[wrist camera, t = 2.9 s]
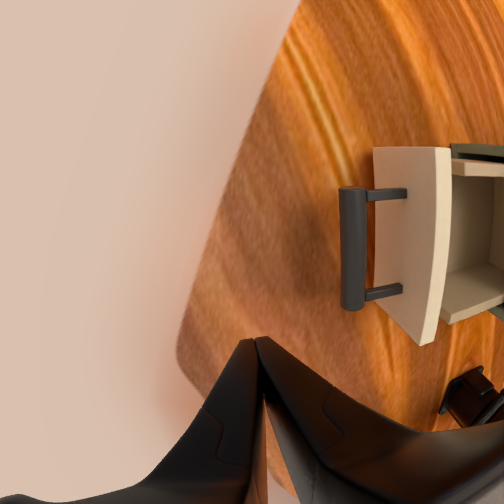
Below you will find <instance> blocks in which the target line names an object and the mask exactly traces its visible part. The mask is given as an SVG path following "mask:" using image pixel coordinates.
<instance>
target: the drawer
mask: <svg viewBox="0 0 504 504" xmlns="http://www.w3.org/2000/svg"><path fill="white" fill-rule="evenodd" d="M372 150H373V164H374V183H375V189H369V190H366V188H365V187H361V186H346V187H340V188H339V189H338V191H339V210H340V241H341V301H340V305H341V307H342V308H343V309H345V310H348V311H358V310H361V309H362V308H363V307H364V306H365V301H366V302H368V301H372V300H374V301H375V302H376V303H377V304H378V305H379V306H380V307H381V308H382V309H383V310H384V311H385V312H386V313H387V314H388V315H389V316H390V317H391V318H392V319H393V320H394V321H395V322H396V323H397V324H398V325H399V326H400V327H401V328H402V329H403V330H404V331H405V332H406V333H407V334H408V335H409V336H410V337H411V338H412V339H413V340H414V341H415V342H416V343H417V344H418V345H419V346H422V345H425V344H427V343H430V342H433V341H434V337H435V333H436V328H437V324H438V319H439V317H440V318H441V319H442V320H444V321H445V322H446V323H447V324H448V325H450V324H453V323H456V322H458V321H461V320H463V319H466V318H468V317H471V316H473V315H476V314H478V313H481V312H483V311H485V310H488V309H490V308H492V307H495V306H497V305H499V304H501V303H504V163H502V162H495V161H484V160H470V159H452V158H451V149H450V148H444V147H373V148H372ZM366 201H367V202H371V201H375V271H374V288H369V289H366V265H367V205H366Z"/></svg>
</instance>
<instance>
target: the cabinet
mask: <svg viewBox="0 0 504 504" xmlns="http://www.w3.org/2000/svg"><path fill="white" fill-rule="evenodd" d="M451 154H452V159H470V160H484V161H495V162H502V163H504V146H501V145H487V144H467V143H451ZM488 311H489V312H491V313H492V314H494V315H495V316H497V317H498V318H499V319H501V320H502V321H503V322H504V303H501V304H499V305H497V306H495V307H492V308H490V309H488Z"/></svg>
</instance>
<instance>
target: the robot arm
mask: <svg viewBox="0 0 504 504" xmlns="http://www.w3.org/2000/svg"><path fill="white" fill-rule="evenodd" d="M483 370H484V367H483V366H480V367H478V368H476V369H474V370H472V371H470V372H468V373H466V374H464V375H463V376H461V377H458V378H456V379H454V380H453V381H451V383H450V385H449V387H448V390H447V393H446V395H445V398H444V400H443V403H442V405H441V407H440V410H439V412H438V414H439V415H442V414H444V413H446V412H449V413H450V414H451V416H452V417H453V418H454V419H455V421H456V422H457V423H458V424H459V426H460V427H461V428H460V429H453V430H445V431H436V432H423V431H418V430H414V429H411V428H409V427H406V426H404V425H402V424H400V423H398V422H396V421H394V420H392V419H390V418H388V417H386V416H384V415H382V414H380V413H378V412H376V411H374V410H372V409H370V408H368V407H366V406H364V405H363V404H361V403H359V402H357V401H355V400H354V399H352V398H351V397H349V396H348V395H346V394H345V393H343V392H342V391H340V390H339V389H338V388H336V387H335V386H334V387H333V385H332V384H331V383H329V382H328V381H326V380H325V379H324V378H322V377H321V376H320V375H318V374H317V373H316V372H314V371H313V370H312V369H310V368H309V367H308V366H306V365H305V364H304V363H302V362H301V361H300V360H298V359H297V358H296V357H294V356H293V355H292V354H290V353H289V352H288V351H286V350H285V349H284V348H283V347H281V346H280V345H279V344H277V343H276V342H275V341H274V340H272V339H271V338H270V337H268V336H263V337H257V338H255V339H253V338H250V339H243V340H240V341H239V343H238V345H237V347H236V348H235V350H234V352H233V354H232V356H231V357H230V359H229V361H228V363H227V364H226V366H225V368H224V369H223V371H222V373H221V375H220V376H219V378H218V380H217V382H216V383H215V385H214V387H213V388H212V390H211V392H210V394H209V395H208V397H207V399H206V400H205V402H204V404H203V406H202V408H201V409H200V410H199V412H198V414H197V415H196V417H195V419H194V420H193V422H192V423H191V425H190V426H189V428H188V429H187V431H186V432H185V433H184V434H183V436H182V437H181V438H180V439H179V441H178V442H177V443H176V444H175V445H174V447H173V448H172V449H171V450H170V451H169V452H168V454H167V455H166V456H165V457H164V458H163V459H162V461H161V462H160V463H159V464H158V465H157V466H156V468H155V469H154V470H153V471H152V472H151V473H150V474H149V475H148V476H147V477H146V478H145V479H143V480H142V481H141V482H139V483H137V484H135V485H133V486H131V487H128V488H124V489H121V490H117V491H114V492H110V493H106V494H103V495H99V496H94V497H90V498H86V499H81V500H76V501H71V502H62V503H53V502H45V501H40V500H37V499H35V498H32V497H29V496H26V495H23V494H15V495H10V496H6V497H3V498H0V504H268V494H267V458H266V426H265V406H266V410H267V413H268V416H269V419H270V421H271V424H272V427H273V430H274V433H275V436H276V438H277V441H278V444H279V447H280V450H281V452H282V455H283V458H284V461H285V463H286V466H287V469H288V472H289V474H290V477H291V480H292V482H293V485H294V488H295V490H296V493H297V495H298V498H299V501H300V503H301V504H504V389H502V390H501V391H500V393H498V392H497V391H496V390H495V389H494V385H493V384H492V383H491V382H490V381H489V380H488V379H487V378H486V377H485V376H484V375H483V374H482V372H483ZM264 402H265V405H264Z"/></svg>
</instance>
